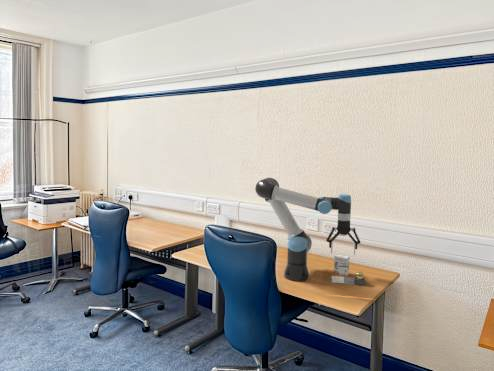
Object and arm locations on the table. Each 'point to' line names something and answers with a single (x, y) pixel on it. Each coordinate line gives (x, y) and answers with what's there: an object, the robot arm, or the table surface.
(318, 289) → the table surface
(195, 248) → the table surface
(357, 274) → the button
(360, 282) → the button housing
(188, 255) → the table surface
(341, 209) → the robot arm
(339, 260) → the ink box
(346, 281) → the board
